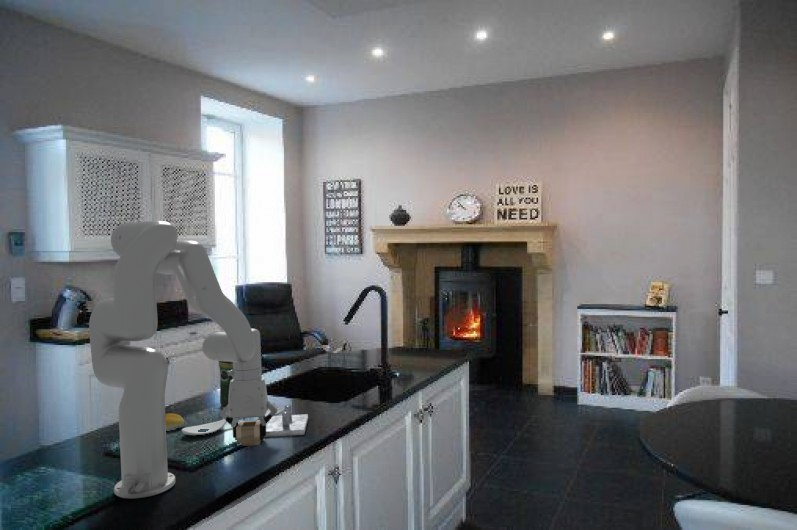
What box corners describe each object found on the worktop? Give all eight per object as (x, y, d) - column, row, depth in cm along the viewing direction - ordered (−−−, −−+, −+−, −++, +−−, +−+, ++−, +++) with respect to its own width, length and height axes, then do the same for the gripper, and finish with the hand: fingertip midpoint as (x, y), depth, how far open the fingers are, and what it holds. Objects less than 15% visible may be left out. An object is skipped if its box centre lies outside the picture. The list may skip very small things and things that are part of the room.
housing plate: (304, 434, 165) (303, 415, 165) (264, 436, 164) (264, 417, 164) (308, 419, 180) (307, 401, 180) (271, 420, 179) (271, 403, 179)
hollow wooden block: (259, 444, 158) (258, 426, 157) (236, 446, 157) (236, 427, 157) (262, 437, 164) (262, 419, 163) (240, 438, 163) (240, 421, 163)
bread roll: (154, 434, 170) (154, 421, 170) (155, 425, 178) (155, 412, 178) (185, 430, 173) (184, 417, 172) (184, 422, 181) (184, 409, 181)
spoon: (290, 417, 183) (289, 406, 183) (190, 443, 162) (189, 430, 161) (275, 411, 190) (274, 401, 190) (177, 435, 168) (176, 423, 168)
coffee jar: (253, 404, 199) (251, 349, 198) (233, 409, 192) (231, 353, 192) (235, 400, 205) (233, 347, 204) (216, 405, 198) (214, 351, 198)
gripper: (211, 378, 155) (214, 446, 156) (277, 375, 157) (280, 442, 157) (218, 372, 163) (220, 436, 163) (281, 369, 164) (283, 433, 165)
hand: (249, 438), depth 160 cm, fingers closed on hollow wooden block, 6 cm apart
